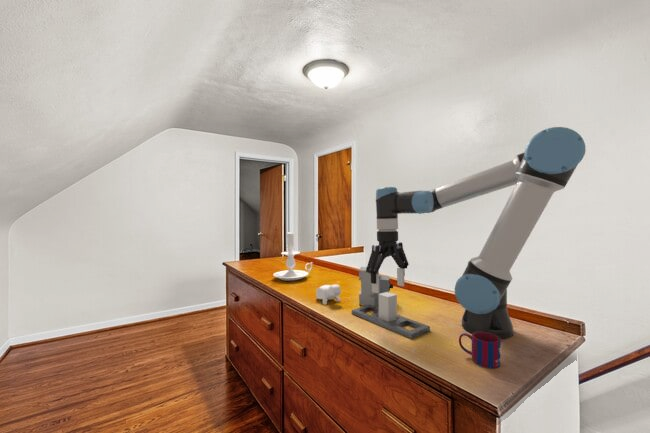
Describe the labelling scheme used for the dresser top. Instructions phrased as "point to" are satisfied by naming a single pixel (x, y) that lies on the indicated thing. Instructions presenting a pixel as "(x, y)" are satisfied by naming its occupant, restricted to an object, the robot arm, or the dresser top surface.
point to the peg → (387, 306)
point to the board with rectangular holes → (392, 322)
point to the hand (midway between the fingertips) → (388, 289)
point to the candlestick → (291, 263)
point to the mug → (484, 349)
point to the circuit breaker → (366, 288)
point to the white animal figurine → (328, 293)
